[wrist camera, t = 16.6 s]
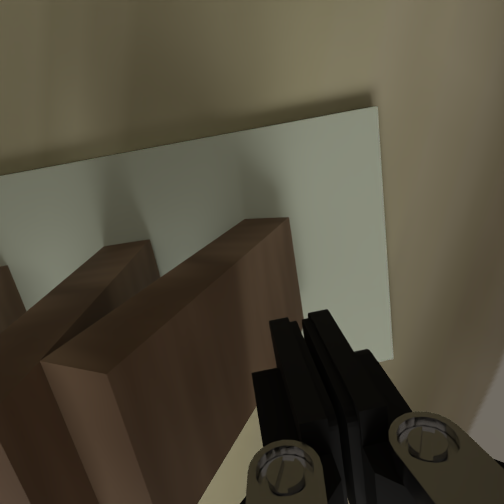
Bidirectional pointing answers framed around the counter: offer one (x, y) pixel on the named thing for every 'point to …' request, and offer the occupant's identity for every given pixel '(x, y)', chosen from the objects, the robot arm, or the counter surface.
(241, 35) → the counter surface
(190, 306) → the domino
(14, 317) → the domino
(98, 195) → the mat
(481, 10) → the counter surface
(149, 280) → the domino
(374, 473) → the robot arm
